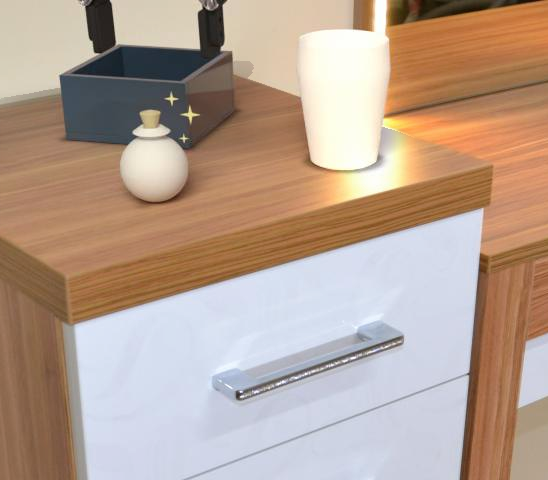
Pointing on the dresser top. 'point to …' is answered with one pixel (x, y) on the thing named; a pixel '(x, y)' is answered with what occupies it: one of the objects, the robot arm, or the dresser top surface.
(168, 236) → the dresser top surface
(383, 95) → the cup
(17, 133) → the dresser top surface
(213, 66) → the dark blue open box
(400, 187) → the dresser top surface
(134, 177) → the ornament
